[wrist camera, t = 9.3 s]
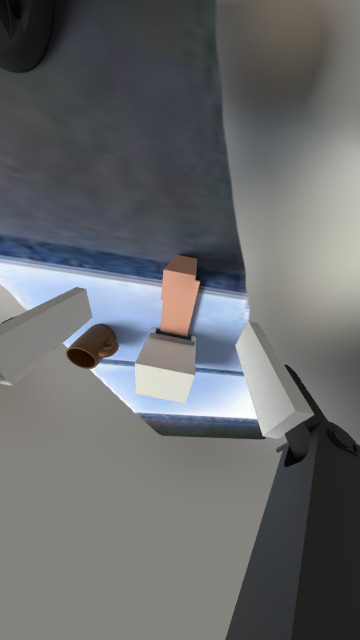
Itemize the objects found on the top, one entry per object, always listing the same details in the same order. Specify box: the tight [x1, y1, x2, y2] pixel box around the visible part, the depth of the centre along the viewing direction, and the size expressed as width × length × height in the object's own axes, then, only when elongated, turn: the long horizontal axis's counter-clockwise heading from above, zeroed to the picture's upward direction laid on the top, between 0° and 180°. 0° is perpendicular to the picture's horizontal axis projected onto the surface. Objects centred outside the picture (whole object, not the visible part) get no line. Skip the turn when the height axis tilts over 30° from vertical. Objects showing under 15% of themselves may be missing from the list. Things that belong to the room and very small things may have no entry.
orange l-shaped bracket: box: [160, 255, 200, 336], centre depth 27 cm, size 18×7×12 cm, turn 171°
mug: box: [66, 325, 119, 369], centre depth 37 cm, size 12×8×9 cm, turn 102°
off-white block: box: [135, 328, 196, 403], centre depth 36 cm, size 12×12×12 cm
